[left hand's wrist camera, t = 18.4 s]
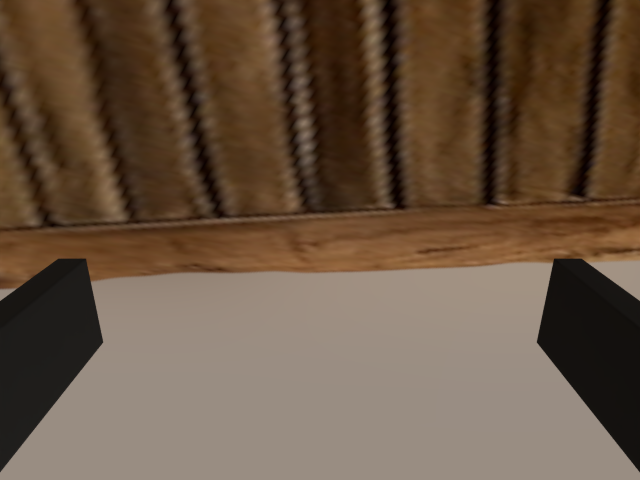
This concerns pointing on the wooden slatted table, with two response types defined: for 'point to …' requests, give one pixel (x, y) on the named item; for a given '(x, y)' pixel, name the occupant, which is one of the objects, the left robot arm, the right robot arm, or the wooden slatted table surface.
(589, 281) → the left robot arm
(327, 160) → the wooden slatted table surface
